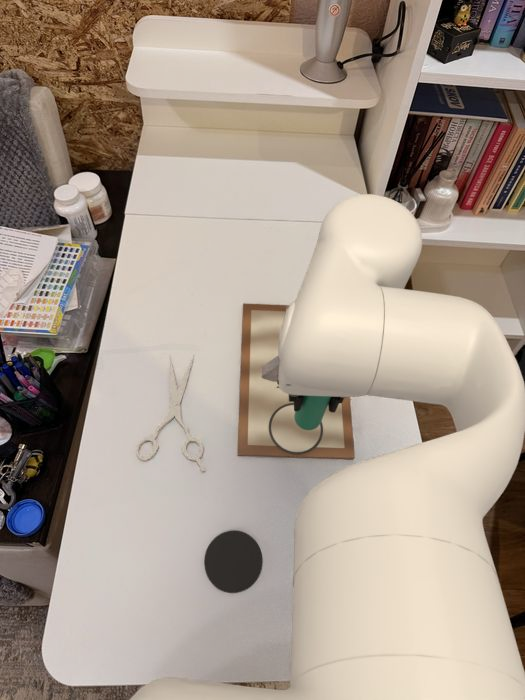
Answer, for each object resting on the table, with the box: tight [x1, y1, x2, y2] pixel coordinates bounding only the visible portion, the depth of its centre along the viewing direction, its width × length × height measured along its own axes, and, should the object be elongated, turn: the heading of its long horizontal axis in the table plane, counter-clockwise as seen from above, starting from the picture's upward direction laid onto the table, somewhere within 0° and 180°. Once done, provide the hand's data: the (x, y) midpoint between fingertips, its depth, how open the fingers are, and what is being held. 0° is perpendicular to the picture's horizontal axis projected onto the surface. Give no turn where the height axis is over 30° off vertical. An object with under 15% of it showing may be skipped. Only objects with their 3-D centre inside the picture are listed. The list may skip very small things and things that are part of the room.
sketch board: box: [236, 302, 355, 460], centre depth 85 cm, size 28×18×1 cm, turn 179°
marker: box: [294, 395, 332, 430], centre depth 63 cm, size 4×4×12 cm
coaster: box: [203, 530, 263, 594], centre depth 71 cm, size 8×8×1 cm
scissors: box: [135, 355, 206, 473], centre depth 81 cm, size 11×1×20 cm
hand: (314, 400), depth 62 cm, fingers closed on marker, 3 cm apart
